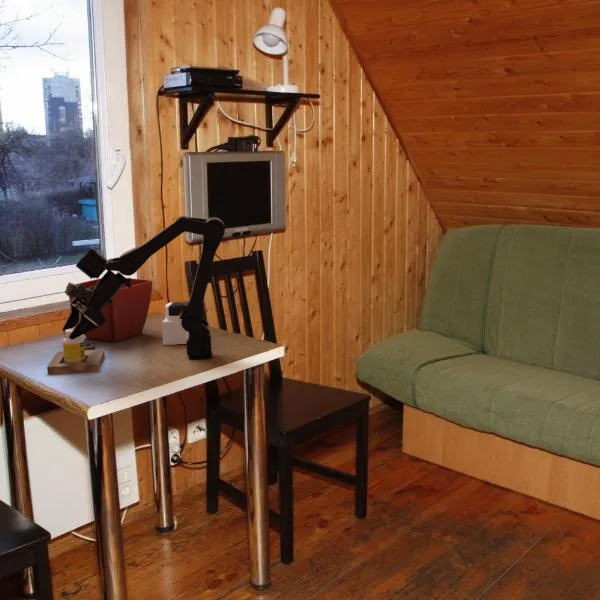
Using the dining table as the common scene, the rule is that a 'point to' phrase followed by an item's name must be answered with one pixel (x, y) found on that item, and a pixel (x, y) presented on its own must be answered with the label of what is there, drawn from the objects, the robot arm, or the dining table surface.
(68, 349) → the supplement bottle
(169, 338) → the medicine bottle
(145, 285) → the plant pot
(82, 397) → the dining table surface
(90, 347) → the compass
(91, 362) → the socket board
